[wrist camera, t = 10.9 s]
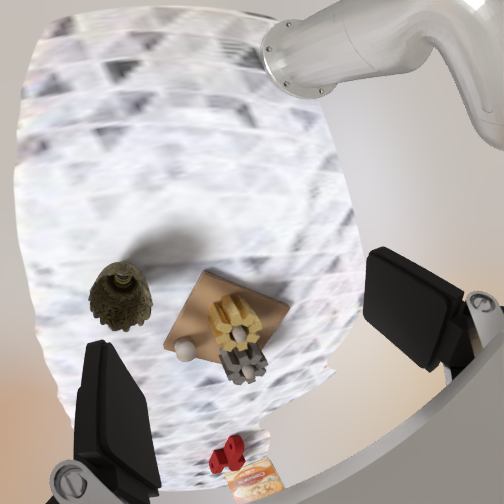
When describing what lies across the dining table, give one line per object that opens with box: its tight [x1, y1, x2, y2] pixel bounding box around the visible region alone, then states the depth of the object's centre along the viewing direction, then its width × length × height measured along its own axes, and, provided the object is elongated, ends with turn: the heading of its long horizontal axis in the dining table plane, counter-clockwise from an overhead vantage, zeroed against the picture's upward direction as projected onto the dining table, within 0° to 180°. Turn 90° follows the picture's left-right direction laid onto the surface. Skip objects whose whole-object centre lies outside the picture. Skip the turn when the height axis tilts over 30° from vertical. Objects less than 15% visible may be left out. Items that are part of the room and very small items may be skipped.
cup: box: [88, 262, 153, 332], centre depth 32 cm, size 8×7×8 cm
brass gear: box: [207, 295, 262, 352], centre depth 40 cm, size 7×7×5 cm
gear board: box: [163, 270, 290, 385], centre depth 41 cm, size 14×16×7 cm
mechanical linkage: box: [209, 436, 246, 474], centre depth 58 cm, size 16×7×5 cm, turn 161°
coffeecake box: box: [225, 458, 286, 504], centre depth 60 cm, size 15×7×20 cm, turn 106°
